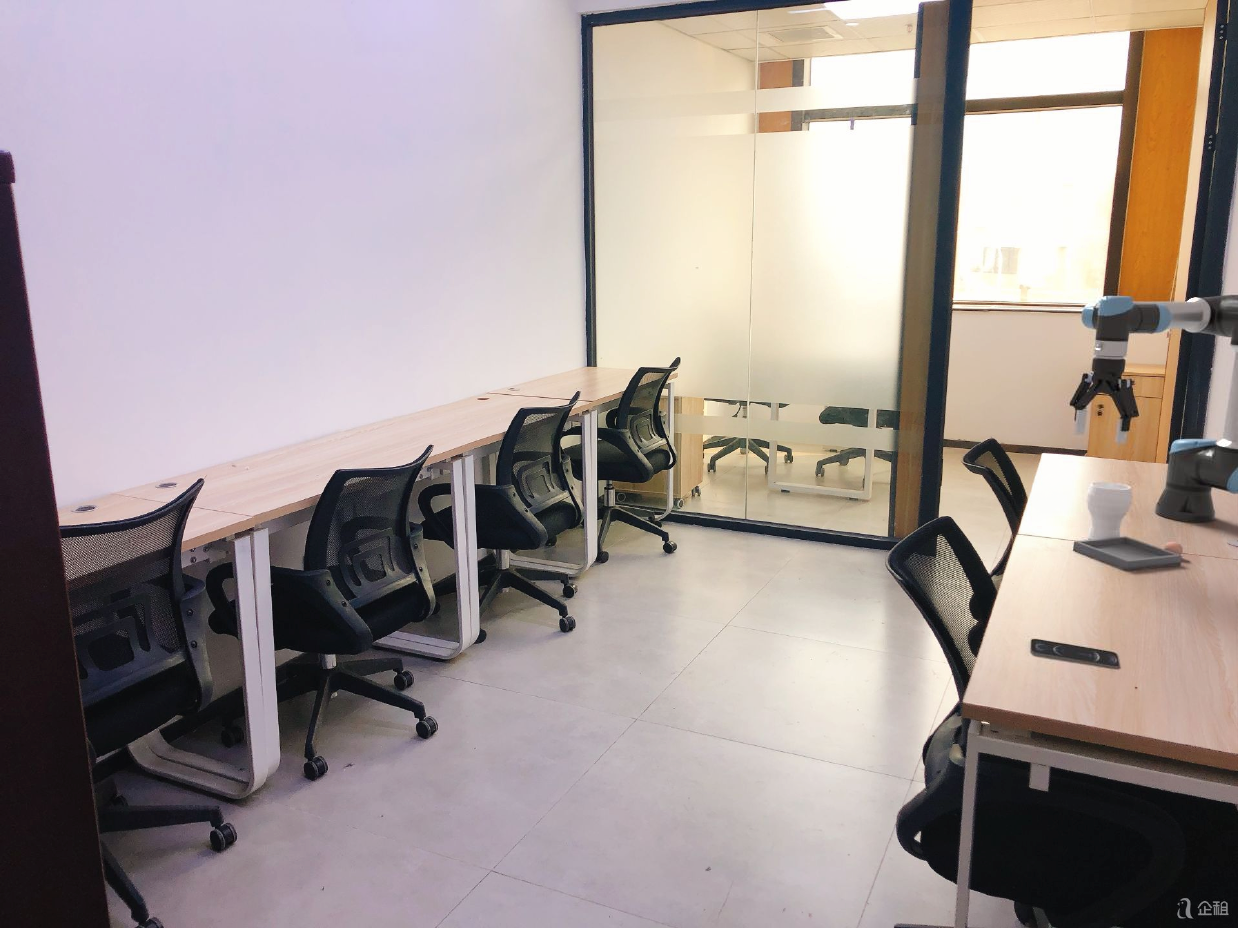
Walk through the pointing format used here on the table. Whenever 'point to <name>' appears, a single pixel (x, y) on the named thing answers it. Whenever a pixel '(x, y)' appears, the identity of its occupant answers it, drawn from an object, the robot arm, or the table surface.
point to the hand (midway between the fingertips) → (1099, 438)
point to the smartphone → (1074, 653)
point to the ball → (1174, 547)
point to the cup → (1107, 508)
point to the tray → (1127, 553)
